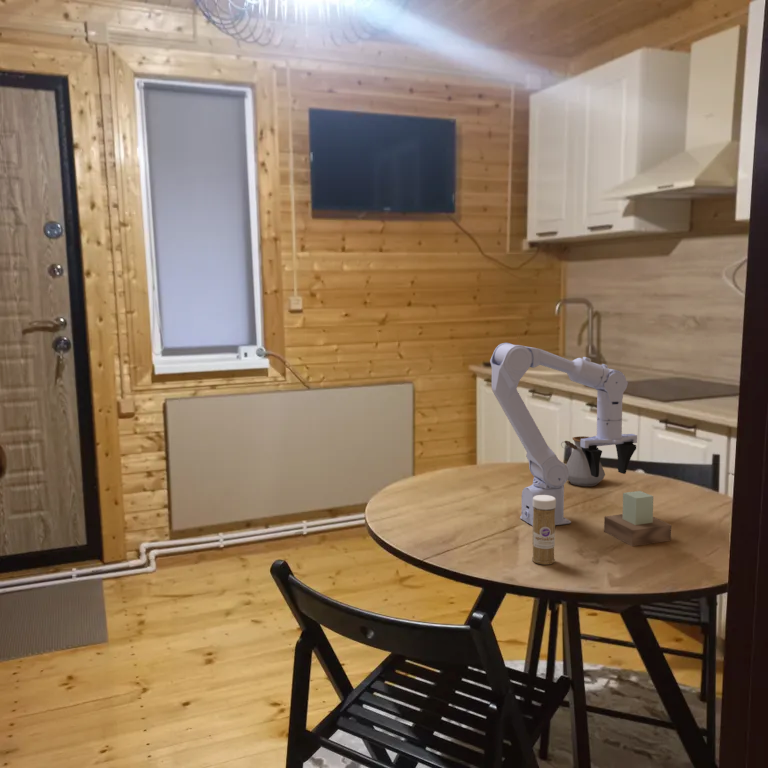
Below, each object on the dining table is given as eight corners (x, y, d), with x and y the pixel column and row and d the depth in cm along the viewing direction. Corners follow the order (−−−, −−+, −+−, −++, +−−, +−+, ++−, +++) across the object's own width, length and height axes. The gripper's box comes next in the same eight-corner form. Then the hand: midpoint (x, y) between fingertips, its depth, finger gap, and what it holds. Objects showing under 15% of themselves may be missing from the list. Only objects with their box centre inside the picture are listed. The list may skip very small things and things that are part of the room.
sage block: (635, 525, 154) (636, 498, 154) (622, 518, 159) (623, 492, 158) (652, 522, 156) (653, 496, 155) (639, 516, 160) (640, 490, 159)
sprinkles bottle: (537, 566, 141) (538, 501, 140) (528, 558, 146) (529, 494, 144) (558, 564, 142) (559, 499, 141) (549, 556, 147) (550, 493, 145)
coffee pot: (571, 475, 210) (572, 425, 208) (610, 481, 203) (611, 429, 201) (543, 493, 192) (543, 438, 190) (584, 499, 186) (585, 443, 184)
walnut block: (632, 546, 152) (632, 530, 151) (604, 531, 161) (604, 516, 161) (670, 540, 155) (671, 524, 154) (641, 526, 164) (641, 511, 164)
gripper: (592, 424, 163) (592, 481, 164) (646, 419, 167) (644, 475, 169) (575, 419, 169) (575, 474, 171) (627, 414, 174) (626, 468, 175)
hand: (608, 474), depth 170 cm, fingers open, 7 cm apart
